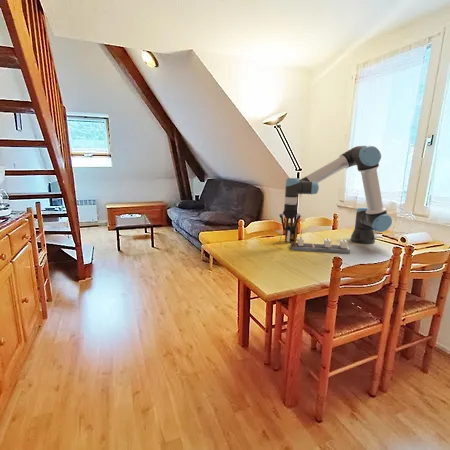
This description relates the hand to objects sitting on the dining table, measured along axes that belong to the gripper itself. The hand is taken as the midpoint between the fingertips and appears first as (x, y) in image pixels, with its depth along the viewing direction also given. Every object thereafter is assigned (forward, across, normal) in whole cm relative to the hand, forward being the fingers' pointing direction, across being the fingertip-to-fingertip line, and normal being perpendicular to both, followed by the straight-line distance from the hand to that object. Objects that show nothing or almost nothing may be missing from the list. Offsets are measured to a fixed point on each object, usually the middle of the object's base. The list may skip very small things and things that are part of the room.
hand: (288, 240), depth 182 cm
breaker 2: (+2, -24, 0) cm, 24 cm away
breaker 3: (+2, -33, 0) cm, 33 cm away
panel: (+4, -19, 0) cm, 20 cm away
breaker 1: (+2, -8, 0) cm, 8 cm away
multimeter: (+5, -2, -17) cm, 18 cm away
